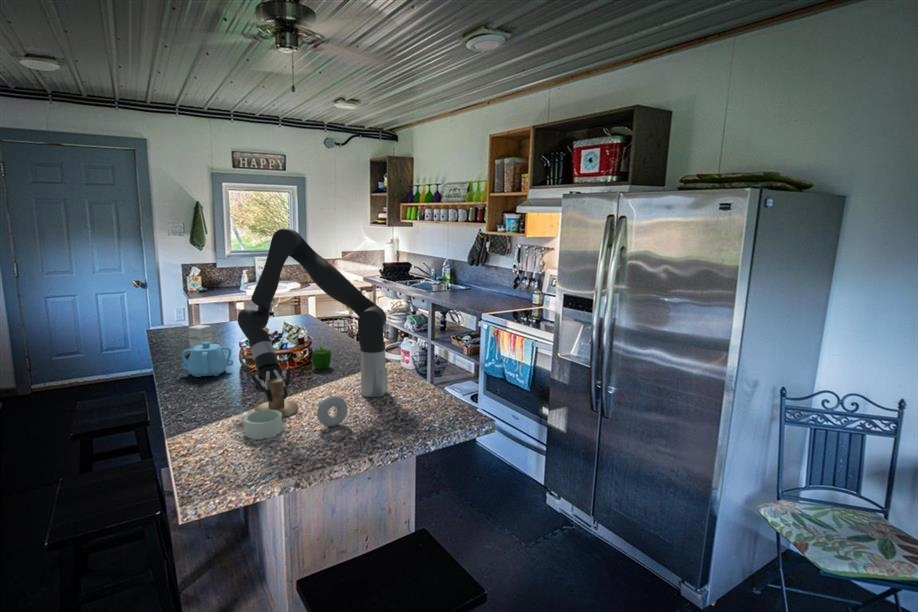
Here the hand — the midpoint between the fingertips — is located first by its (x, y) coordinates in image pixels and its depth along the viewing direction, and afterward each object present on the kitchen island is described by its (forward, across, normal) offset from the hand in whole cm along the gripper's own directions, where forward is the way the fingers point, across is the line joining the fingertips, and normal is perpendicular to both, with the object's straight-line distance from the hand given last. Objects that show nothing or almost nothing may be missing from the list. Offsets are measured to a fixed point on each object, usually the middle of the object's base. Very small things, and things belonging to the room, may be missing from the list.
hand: (278, 399), depth 172 cm
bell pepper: (-24, +32, +30) cm, 50 cm away
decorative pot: (-38, -9, +45) cm, 59 cm away
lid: (+2, 0, +5) cm, 5 cm away
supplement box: (-64, -4, +71) cm, 96 cm away
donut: (+18, +10, -11) cm, 24 cm away
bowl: (+12, -9, -5) cm, 16 cm away
